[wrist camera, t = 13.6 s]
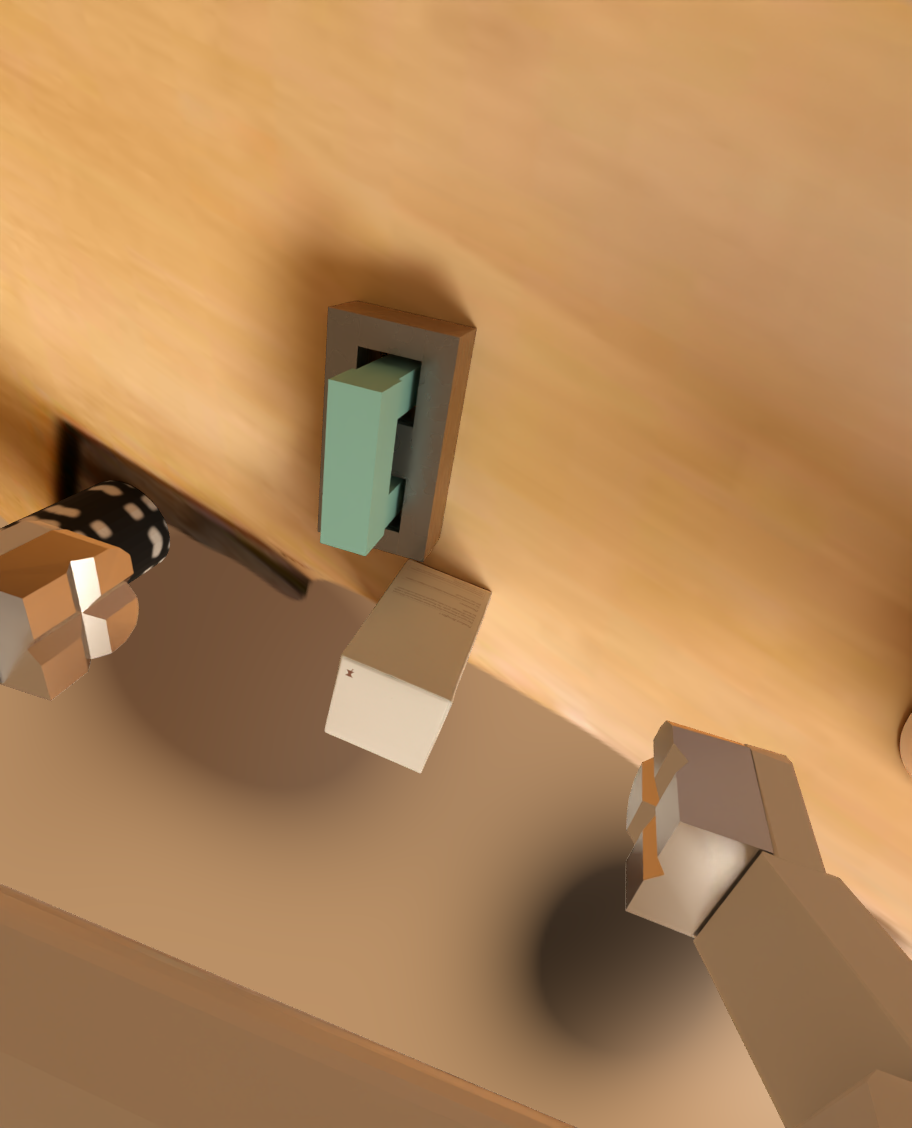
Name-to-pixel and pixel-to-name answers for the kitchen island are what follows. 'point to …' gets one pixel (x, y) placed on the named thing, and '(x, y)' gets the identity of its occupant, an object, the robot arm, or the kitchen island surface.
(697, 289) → the kitchen island surface
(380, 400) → the green u-shaped block
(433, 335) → the gray socket base
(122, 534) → the white-spotted black cylinder
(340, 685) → the supplement box
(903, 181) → the kitchen island surface
